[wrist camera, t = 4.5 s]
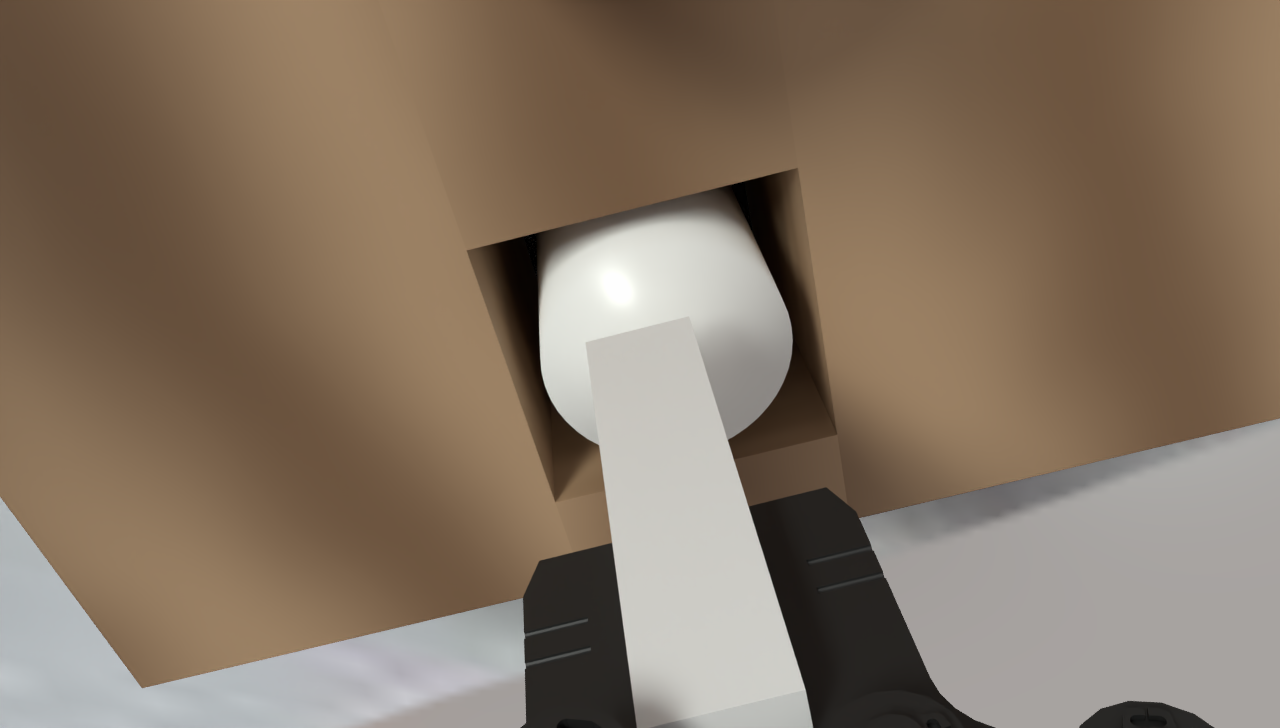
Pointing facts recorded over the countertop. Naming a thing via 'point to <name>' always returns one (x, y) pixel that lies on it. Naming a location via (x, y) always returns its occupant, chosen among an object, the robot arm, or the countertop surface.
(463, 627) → the countertop surface
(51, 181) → the walnut block
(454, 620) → the countertop surface
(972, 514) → the countertop surface
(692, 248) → the white glossy ovoid
